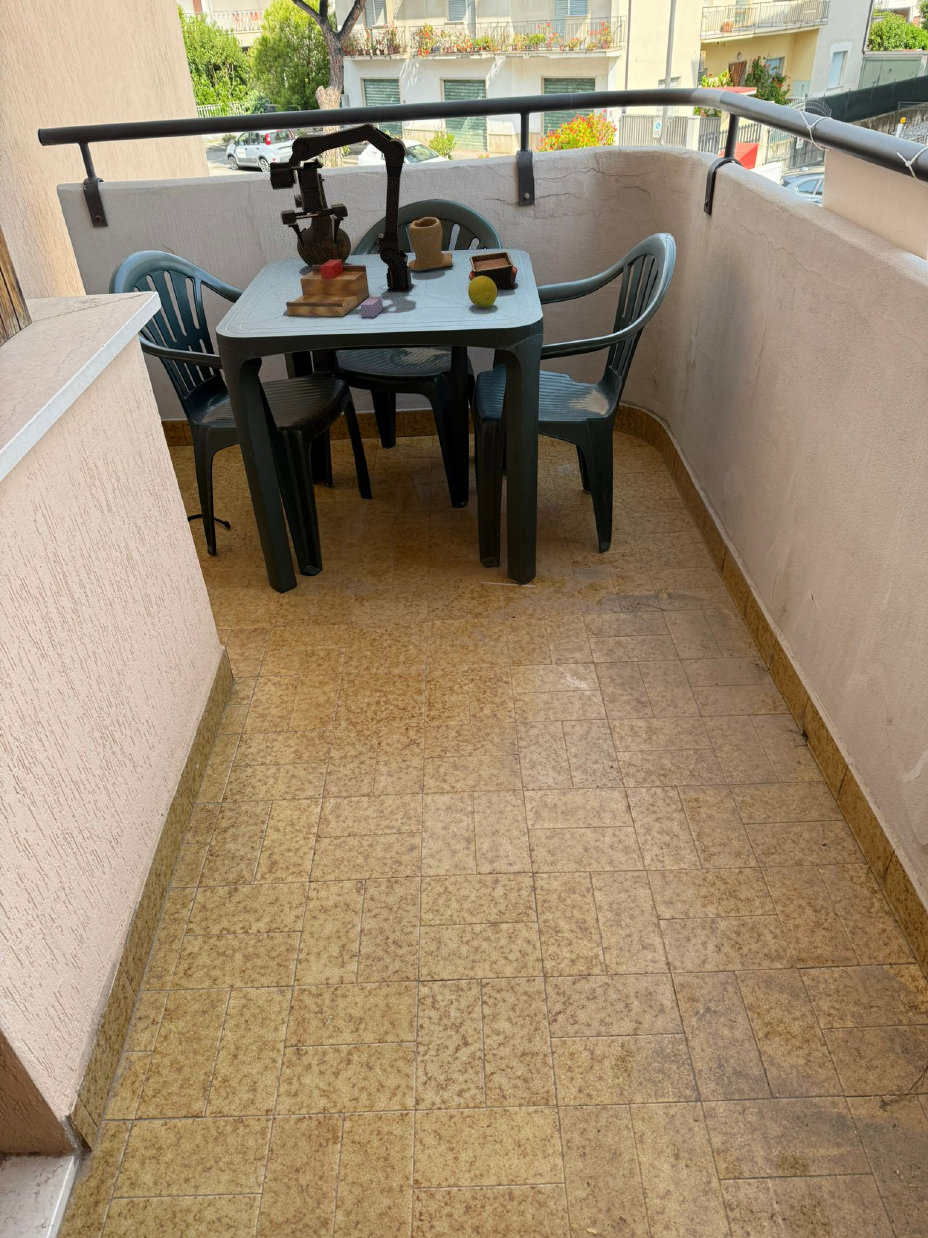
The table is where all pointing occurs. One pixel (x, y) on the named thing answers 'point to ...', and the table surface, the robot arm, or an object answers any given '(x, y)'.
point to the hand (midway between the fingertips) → (319, 245)
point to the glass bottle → (323, 239)
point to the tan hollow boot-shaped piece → (428, 245)
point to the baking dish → (494, 269)
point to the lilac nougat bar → (371, 306)
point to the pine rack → (331, 292)
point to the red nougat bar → (331, 269)
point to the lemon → (482, 291)
